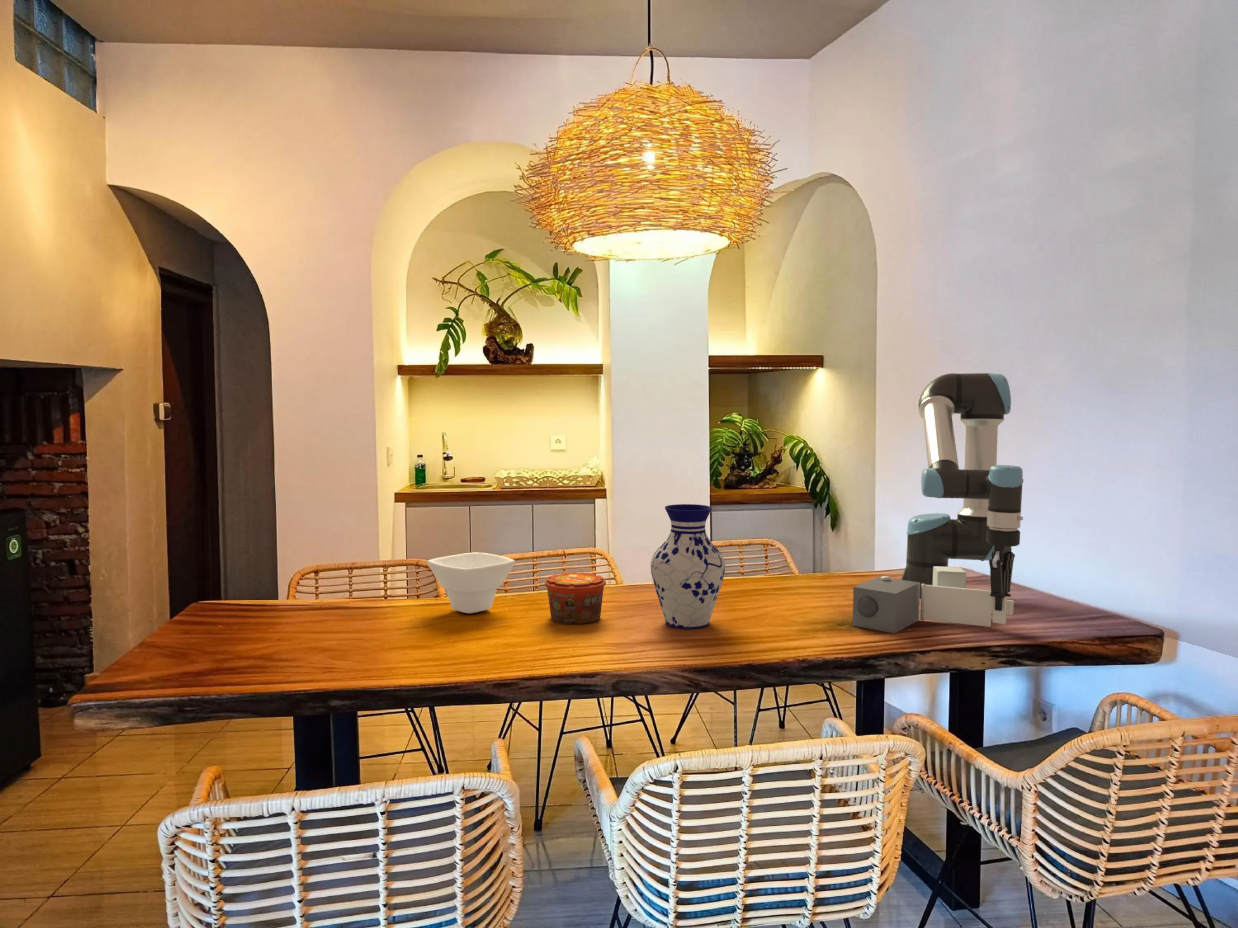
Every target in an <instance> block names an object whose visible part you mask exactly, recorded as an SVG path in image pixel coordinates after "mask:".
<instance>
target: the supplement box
mask: <svg viewBox="0 0 1238 928" xmlns="http://www.w3.org/2000/svg"><path fill="white" fill-rule="evenodd" d="M966 585H967V572H966V570H964V569H963V568H962V567H961V566H948V567H940V566H934V567H933V586H945V587H956V588H967V586H966Z"/></svg>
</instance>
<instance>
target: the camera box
mask: <svg viewBox="0 0 1238 928" xmlns="http://www.w3.org/2000/svg"><path fill="white" fill-rule="evenodd" d="M852 591H853V592H852V593H853V594H852V595H853V597H852V626H853V627H859V628H863V629H869V630H874V631H879V632H885V633H889V634H890V633H891V634H897V633H898V632H900V631H902V630H904V629H905V628H908V627H909V626H912V624H915V623H917V622H919V620H920V603H921V597H920V583H919V582H913V581H906V580H901V579H898V578H892V577H891V576H888V575H883V576H881V575H880V576H877V577H874V578H872V579H870V580H868V581H865V582H863V583H860V584H858V585H855V586H853V590H852Z"/></svg>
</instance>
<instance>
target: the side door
mask: <svg viewBox="0 0 1238 928" xmlns="http://www.w3.org/2000/svg"><path fill="white" fill-rule="evenodd" d="M990 594H991V590H988V589H987V590H986V589H975V588H968V587H966V588H956V587H945V586H933V585H926V584H922V585H921V597H920V613H919V620H920V621H933V622H939V623H940V622H942V623H950V624H959V625H960V624H963V625H971V626H979V627H981V626H982V627H989V628H991V626H992V625H991V624H992V614H993V603H994V598H993V597H992V596H990ZM1014 602H1015V601H1014V599H1013V600H1011V599H1007V609H1006V616H1007V615H1008V616H1013V615H1014V607H1015V606H1014V605H1015V604H1014Z"/></svg>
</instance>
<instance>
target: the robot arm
mask: <svg viewBox="0 0 1238 928" xmlns="http://www.w3.org/2000/svg"><path fill="white" fill-rule="evenodd" d="M1011 406H1012V399H1011V390H1010V385H1009V380H1008V378H1007V377H1006V376H1005V375H1004V374H1001V373H990V372H986V373H982V372H981V373H980V372H979V373H975V372H974V373H953V372H951V373H946V374H941V375H940V376H938V377H935V378H934V379H933V380H932V381H929V383H927V385H926V386H925V388H924V389H923V390H922V393H921V395H920V397H919V399H918V413H919V414H918V415H920V417H921V418H922V419H923V426H924V428H923V429H924V437H925V448H926V459H927V467H928V468H924V469H923V470H922V471H921V480H920V481H921V494H922V496H923V497H926V498H936V499H963V502H962V503H963V504H962V505H963V506H962V508H961V509H960V510H959V511H958V512H957V516H956V517H957V518H956V519H955V518H953V519H951V516H950V514H948V513H943V512H942V513H939V512H938V513H925V514H923V513H922V514H919V515H915V516H912V517H910V518H909V519H908V522H907V530H906V537H907V541H906V542H907V543H906V562H905V563H906V564H905V568H904V571H903V573H902V575H901V578H900V580H906V581H913V582H919V583H920V598H921V585H922V584H926V585H933V567H934V566H940V567H949V560H965V561H967V560H969V561H981V562H985V561H988V565H989V569H990V570H989V572H990V573H989V574H990V575H989V577H990V591H991V594H990V596H992V598H993V599H994V603H993V613H992V623H995V624H1000V625H1001V624H1002V625H1005V624H1006V623H1007V615H1006V609H1007V600H1008V597H1009V598H1011V597H1012V594H1011V593H1010V592H1011V585H1012V576H1013V569H1014V561H1015V557H1016V555H1015V553H1013V551H1012V550H1013V549H1012V547H1017V546H1020V543H1021V531H1020V530H1019V529H1020V528H1021V521H1023V520H1024V517H1023V516H1022V513H1021V512H1022V499H1023V498H1022V496H1023V483H1024V478H1023V476H1024V474H1023V468H1022V467H1021V466H1020V465H1019V466H1018V465H1007V464H997V462H998V459H997V458H998V435H999V434H998V429H999V425H1000V424H1002V423H1003V422H1004V420H1005V418H1004V417H1005V415H1010V413H1011V409H1012V408H1011ZM954 414H959V415H960V421H961V422H962V424H964V425H965V442H964V443H965V445H964V448H965V449H964V469H960V468H959V461H958V460H959V459H958V452H957V448H956V447H957V444H956V437H955V431H954V422H953V415H954Z"/></svg>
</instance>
